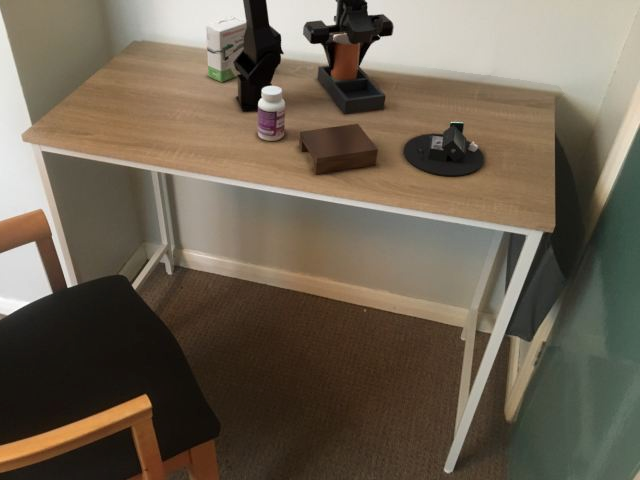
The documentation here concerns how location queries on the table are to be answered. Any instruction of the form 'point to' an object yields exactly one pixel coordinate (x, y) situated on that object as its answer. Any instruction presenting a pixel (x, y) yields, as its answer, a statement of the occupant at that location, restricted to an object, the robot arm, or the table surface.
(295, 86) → the table surface
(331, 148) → the brown wooden riser
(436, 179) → the table surface
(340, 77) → the cup
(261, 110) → the pill bottle
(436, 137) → the black round base
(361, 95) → the tray
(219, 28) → the ink box
